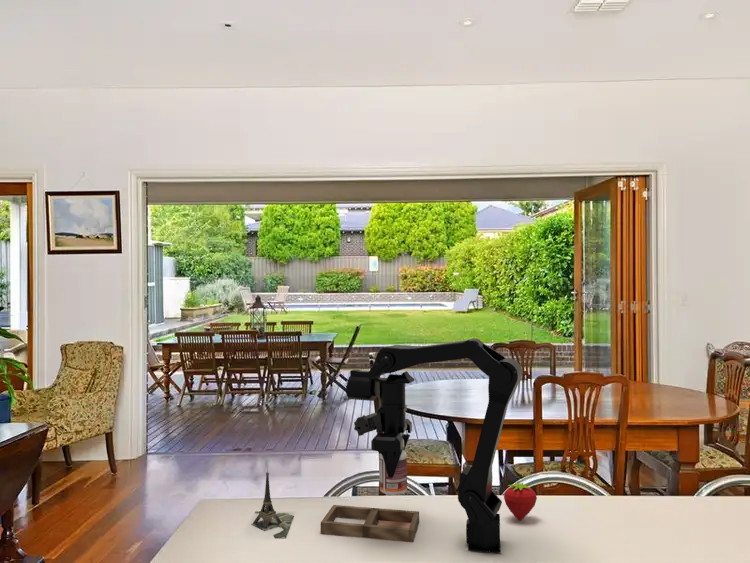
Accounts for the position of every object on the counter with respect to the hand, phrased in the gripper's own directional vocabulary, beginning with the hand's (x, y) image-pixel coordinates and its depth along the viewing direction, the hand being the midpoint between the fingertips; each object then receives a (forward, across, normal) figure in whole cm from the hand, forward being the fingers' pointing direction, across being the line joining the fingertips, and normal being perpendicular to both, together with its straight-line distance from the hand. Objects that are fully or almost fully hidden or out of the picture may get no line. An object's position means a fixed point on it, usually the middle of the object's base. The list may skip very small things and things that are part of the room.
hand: (393, 472), depth 128 cm
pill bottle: (+4, 0, 0) cm, 4 cm away
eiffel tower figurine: (+13, +2, -28) cm, 31 cm away
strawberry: (+13, -11, +28) cm, 33 cm away
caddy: (+13, 0, -5) cm, 14 cm away
